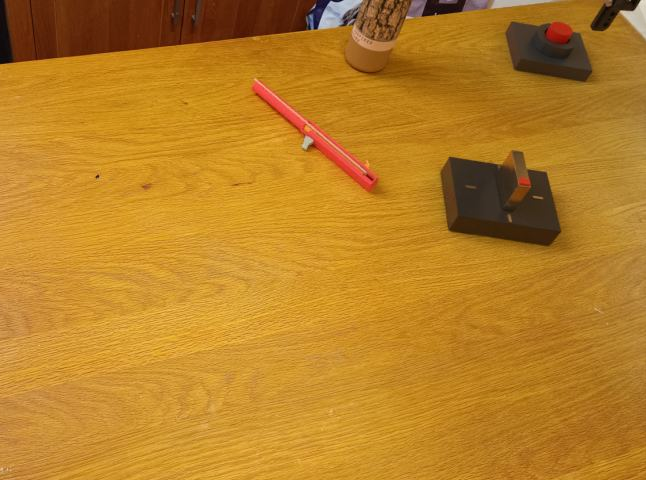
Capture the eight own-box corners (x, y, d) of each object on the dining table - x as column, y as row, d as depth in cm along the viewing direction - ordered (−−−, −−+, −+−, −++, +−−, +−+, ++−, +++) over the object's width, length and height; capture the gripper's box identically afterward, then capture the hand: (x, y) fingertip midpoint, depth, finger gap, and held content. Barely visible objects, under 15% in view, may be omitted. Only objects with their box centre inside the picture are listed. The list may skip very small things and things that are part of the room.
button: (564, 33, 120) (570, 23, 119) (568, 46, 118) (575, 37, 117) (543, 29, 120) (549, 19, 119) (547, 42, 118) (553, 33, 117)
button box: (573, 44, 125) (586, 23, 122) (585, 82, 120) (599, 61, 117) (505, 32, 125) (516, 11, 121) (514, 70, 119) (526, 48, 116)
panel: (535, 187, 105) (547, 171, 102) (549, 246, 99) (562, 230, 96) (440, 172, 104) (449, 155, 101) (448, 230, 98) (458, 214, 95)
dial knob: (495, 174, 101) (512, 148, 97) (506, 176, 101) (524, 150, 97) (501, 209, 97) (519, 183, 93) (513, 211, 97) (532, 185, 93)
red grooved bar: (358, 201, 100) (383, 180, 101) (360, 192, 98) (385, 171, 99) (240, 99, 108) (264, 80, 109) (240, 90, 106) (264, 70, 107)
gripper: (713, -76, 88) (629, 44, 101) (664, -135, 95) (591, -17, 109) (656, -81, 87) (578, 40, 100) (611, -141, 94) (544, -21, 108)
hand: (585, 10), depth 105 cm, fingers open, 8 cm apart
